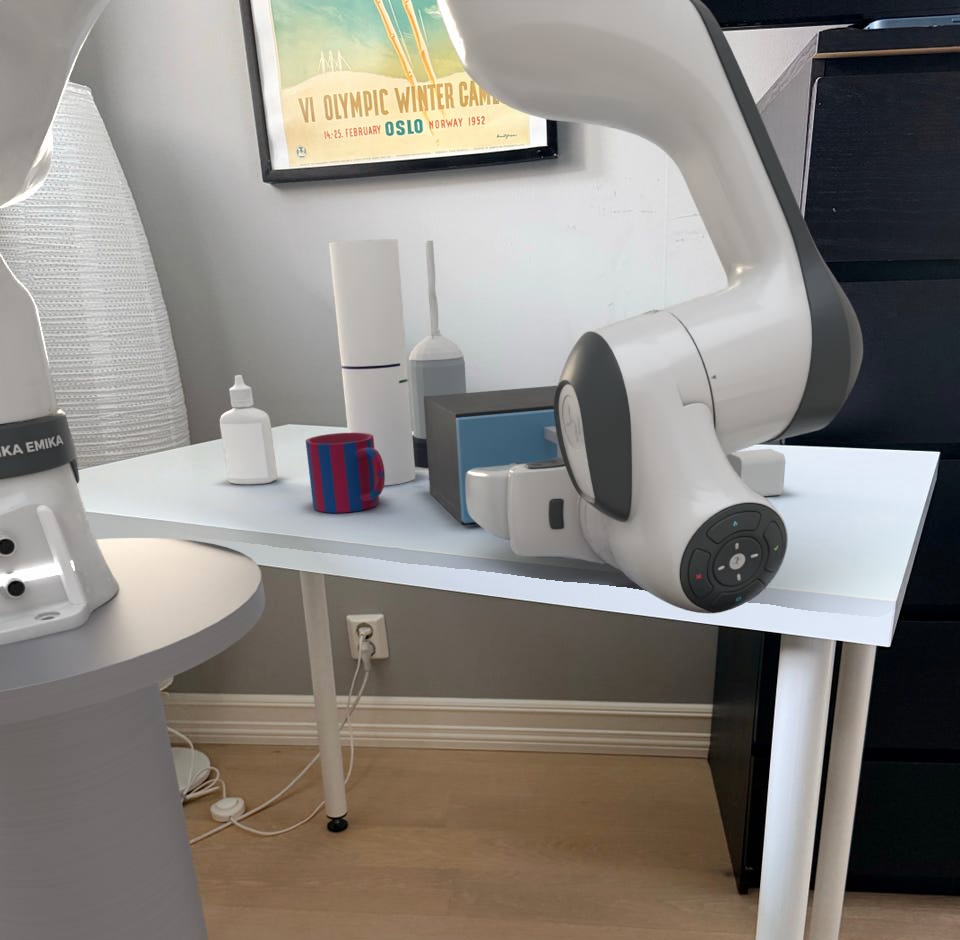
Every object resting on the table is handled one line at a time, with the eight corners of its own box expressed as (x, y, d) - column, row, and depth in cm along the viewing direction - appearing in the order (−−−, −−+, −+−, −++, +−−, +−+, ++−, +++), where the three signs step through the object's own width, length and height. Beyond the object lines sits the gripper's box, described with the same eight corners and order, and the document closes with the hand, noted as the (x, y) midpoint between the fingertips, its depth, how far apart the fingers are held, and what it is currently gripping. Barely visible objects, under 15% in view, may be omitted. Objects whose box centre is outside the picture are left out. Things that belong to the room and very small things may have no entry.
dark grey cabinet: (623, 506, 89) (624, 399, 85) (461, 524, 85) (455, 414, 82) (572, 478, 101) (571, 384, 98) (430, 493, 98) (423, 396, 94)
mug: (360, 494, 99) (353, 430, 96) (407, 510, 91) (402, 440, 89) (302, 505, 96) (294, 438, 93) (347, 522, 88) (339, 450, 85)
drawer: (658, 517, 82) (660, 411, 79) (479, 538, 78) (473, 428, 75) (581, 476, 99) (581, 388, 96) (432, 492, 96) (426, 401, 92)
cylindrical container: (340, 480, 106) (315, 244, 97) (390, 469, 111) (370, 242, 101) (377, 488, 101) (354, 240, 92) (428, 477, 106) (411, 238, 96)
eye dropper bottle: (252, 487, 105) (236, 378, 100) (223, 482, 108) (207, 376, 104) (283, 480, 108) (269, 374, 103) (254, 475, 111) (239, 372, 107)
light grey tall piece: (480, 453, 118) (469, 239, 108) (470, 466, 110) (457, 237, 101) (417, 455, 119) (402, 243, 109) (403, 468, 111) (385, 242, 102)
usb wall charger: (782, 496, 89) (785, 454, 88) (714, 502, 88) (716, 460, 87) (764, 487, 93) (767, 447, 91) (698, 493, 92) (700, 453, 91)
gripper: (758, 445, 69) (674, 420, 81) (492, 472, 64) (447, 441, 77) (752, 528, 71) (672, 491, 83) (496, 560, 66) (451, 516, 79)
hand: (563, 467), depth 80 cm, fingers open, 7 cm apart
